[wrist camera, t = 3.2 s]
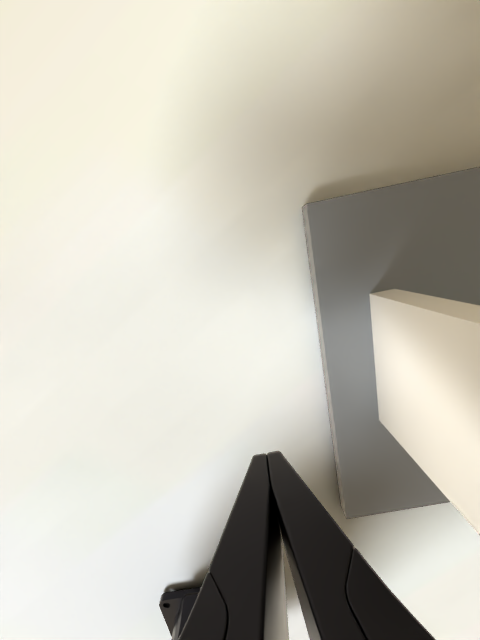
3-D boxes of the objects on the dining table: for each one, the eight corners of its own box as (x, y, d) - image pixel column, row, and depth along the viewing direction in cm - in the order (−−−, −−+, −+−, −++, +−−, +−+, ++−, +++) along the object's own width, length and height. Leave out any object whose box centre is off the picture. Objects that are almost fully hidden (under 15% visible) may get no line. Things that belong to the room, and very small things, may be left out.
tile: (402, 415, 14) (703, 704, 5) (379, 420, 14) (635, 713, 5) (395, 288, 12) (839, 374, 3) (369, 293, 12) (733, 393, 3)
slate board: (601, 462, 15) (620, 473, 15) (341, 506, 16) (346, 519, 15) (660, 130, 11) (692, 121, 10) (301, 207, 12) (306, 203, 11)
